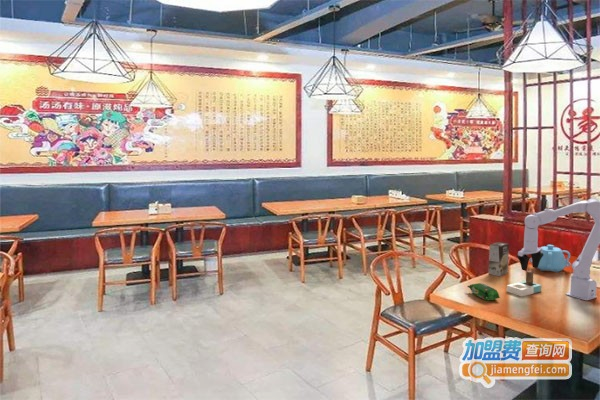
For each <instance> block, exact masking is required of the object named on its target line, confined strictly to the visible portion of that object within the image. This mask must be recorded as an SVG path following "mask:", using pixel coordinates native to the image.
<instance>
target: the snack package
mask: <svg viewBox="0 0 600 400" xmlns="http://www.w3.org/2000/svg"><path fill="white" fill-rule="evenodd" d="M467 288H469V289H470V291H471V293H472V294H473V295H474V296H477V297H479V298H480V299H482V300H483V301H494V300H495V301H496V300H497V299H500V298H501V297H500V295H499V292H498V291H497V289H496V288H494V287H491V286H490V285H488V284H485V283H484V282H483V283H482V282H480V283H472V284H470V285H467Z"/></svg>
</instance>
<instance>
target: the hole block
mask: <svg viewBox="0 0 600 400" xmlns="http://www.w3.org/2000/svg"><path fill="white" fill-rule="evenodd" d="M540 292H542V284H539V283H535V282H533V286H528V285H526V280H524V281H523V280H522V281H519V282H515V283H511V284H507V285H506V293H511V294H514V295H516V296H520V297H524V296H529V295H532V294H536V293H540Z"/></svg>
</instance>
